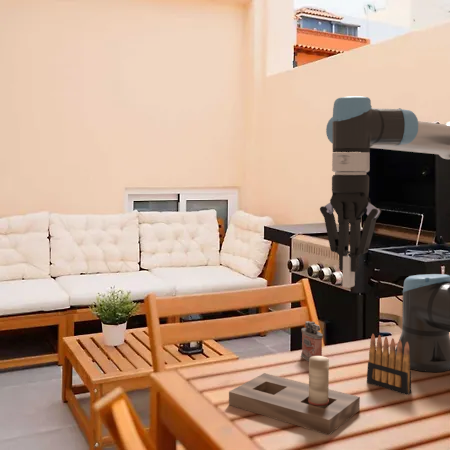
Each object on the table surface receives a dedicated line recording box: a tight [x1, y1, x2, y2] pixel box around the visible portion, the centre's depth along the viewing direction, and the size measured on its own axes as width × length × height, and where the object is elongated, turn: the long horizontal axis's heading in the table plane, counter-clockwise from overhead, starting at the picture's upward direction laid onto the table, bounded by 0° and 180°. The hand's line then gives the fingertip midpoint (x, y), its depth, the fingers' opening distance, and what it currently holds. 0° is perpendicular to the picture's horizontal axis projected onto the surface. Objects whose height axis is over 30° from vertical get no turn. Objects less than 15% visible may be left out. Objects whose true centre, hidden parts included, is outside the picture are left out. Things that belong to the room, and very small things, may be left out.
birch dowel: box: [308, 355, 330, 409], centre depth 125 cm, size 4×4×12 cm
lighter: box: [300, 320, 324, 362], centre depth 160 cm, size 8×3×10 cm, turn 23°
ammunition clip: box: [366, 333, 412, 396], centre depth 140 cm, size 11×2×12 cm, turn 44°
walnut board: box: [228, 372, 361, 436], centre depth 129 cm, size 14×24×3 cm, turn 53°
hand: (348, 286), depth 126 cm, fingers closed
